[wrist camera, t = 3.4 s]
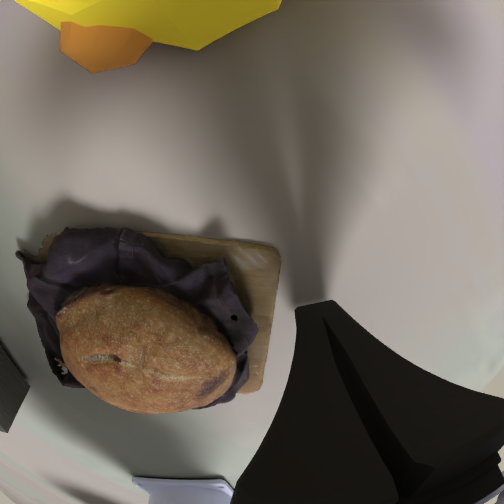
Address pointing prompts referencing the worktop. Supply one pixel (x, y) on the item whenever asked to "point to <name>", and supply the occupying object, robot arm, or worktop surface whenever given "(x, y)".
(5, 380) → the grey angular piece
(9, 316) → the worktop surface
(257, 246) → the bread roll
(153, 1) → the yellow banana
